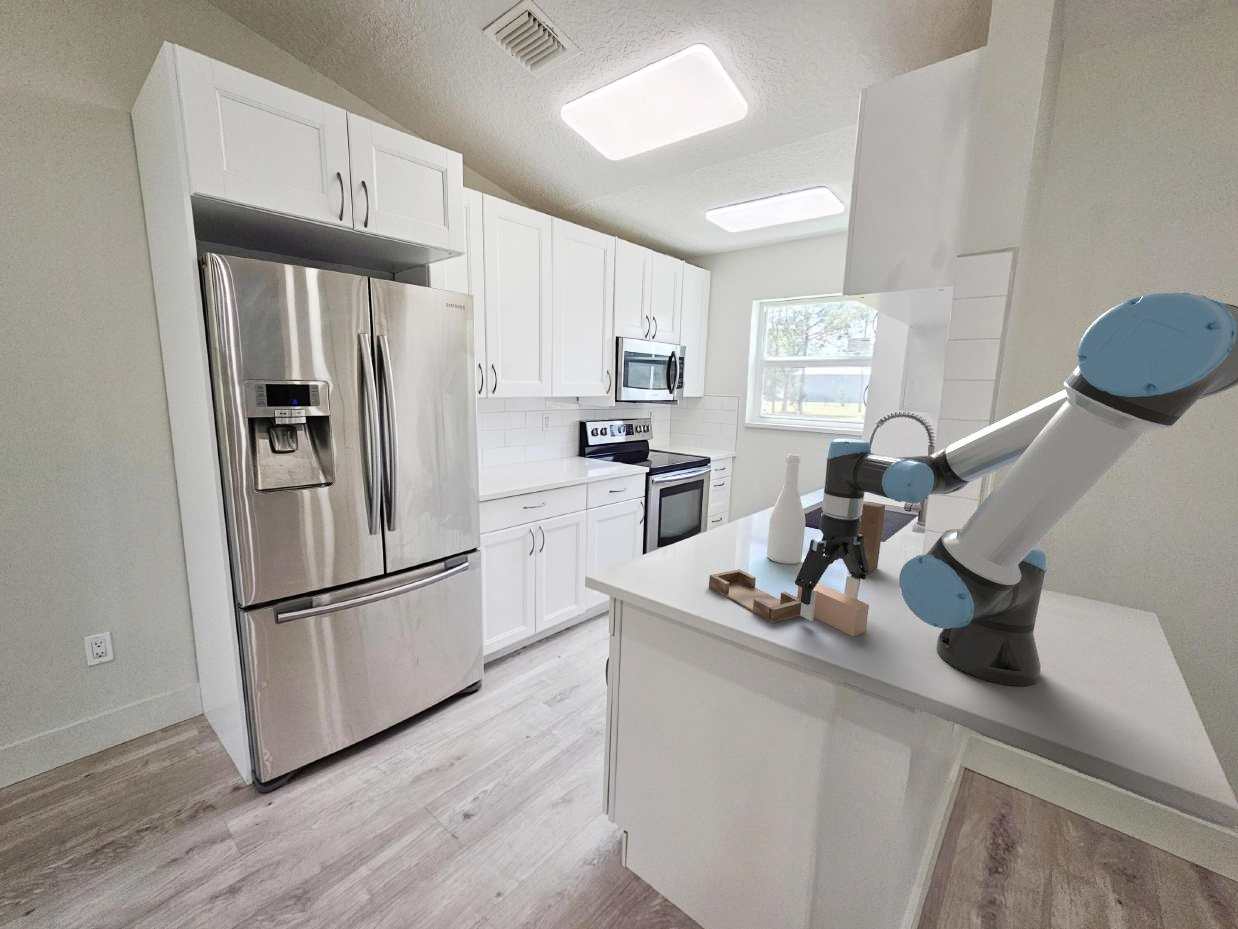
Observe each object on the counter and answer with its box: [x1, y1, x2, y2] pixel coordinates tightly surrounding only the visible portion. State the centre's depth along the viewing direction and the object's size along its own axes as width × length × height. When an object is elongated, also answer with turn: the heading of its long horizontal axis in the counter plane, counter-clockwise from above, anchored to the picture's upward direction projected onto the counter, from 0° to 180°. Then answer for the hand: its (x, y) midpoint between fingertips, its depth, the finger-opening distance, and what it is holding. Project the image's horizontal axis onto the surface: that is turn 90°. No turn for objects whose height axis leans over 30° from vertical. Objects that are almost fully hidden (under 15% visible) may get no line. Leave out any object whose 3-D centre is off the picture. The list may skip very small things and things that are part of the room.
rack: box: [708, 568, 802, 624], centre depth 114 cm, size 20×9×3 cm, turn 29°
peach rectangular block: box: [796, 582, 870, 637], centre depth 106 cm, size 14×4×6 cm, turn 31°
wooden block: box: [859, 501, 886, 576], centre depth 135 cm, size 9×4×18 cm, turn 133°
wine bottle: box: [766, 453, 807, 565], centre depth 140 cm, size 10×10×30 cm
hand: (828, 611), depth 106 cm, fingers open, 13 cm apart
